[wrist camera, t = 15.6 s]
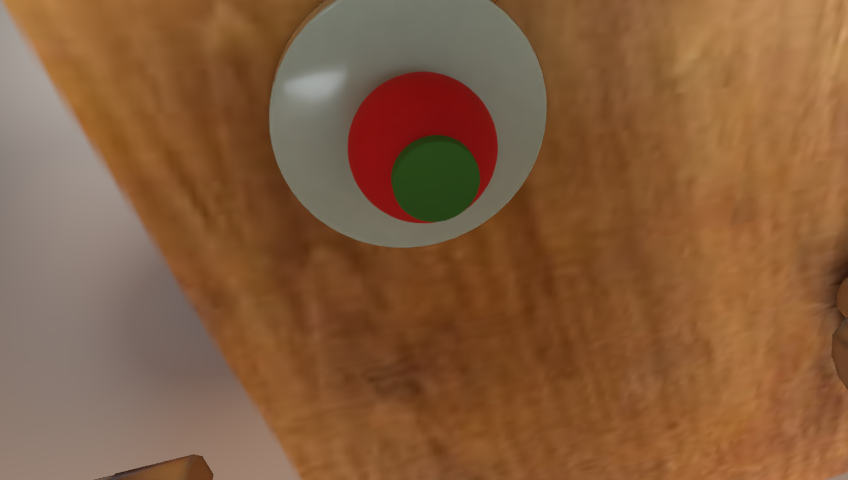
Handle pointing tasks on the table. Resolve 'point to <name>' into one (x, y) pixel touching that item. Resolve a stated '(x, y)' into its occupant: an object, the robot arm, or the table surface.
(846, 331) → the robot arm
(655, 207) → the table surface
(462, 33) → the plate
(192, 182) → the table surface
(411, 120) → the strawberry
